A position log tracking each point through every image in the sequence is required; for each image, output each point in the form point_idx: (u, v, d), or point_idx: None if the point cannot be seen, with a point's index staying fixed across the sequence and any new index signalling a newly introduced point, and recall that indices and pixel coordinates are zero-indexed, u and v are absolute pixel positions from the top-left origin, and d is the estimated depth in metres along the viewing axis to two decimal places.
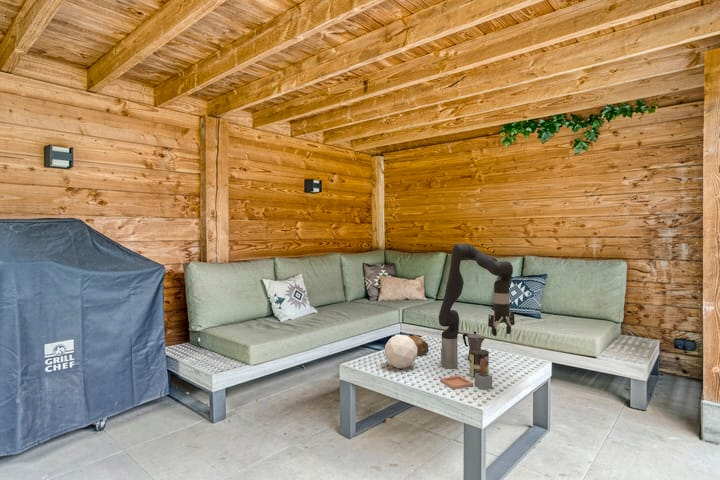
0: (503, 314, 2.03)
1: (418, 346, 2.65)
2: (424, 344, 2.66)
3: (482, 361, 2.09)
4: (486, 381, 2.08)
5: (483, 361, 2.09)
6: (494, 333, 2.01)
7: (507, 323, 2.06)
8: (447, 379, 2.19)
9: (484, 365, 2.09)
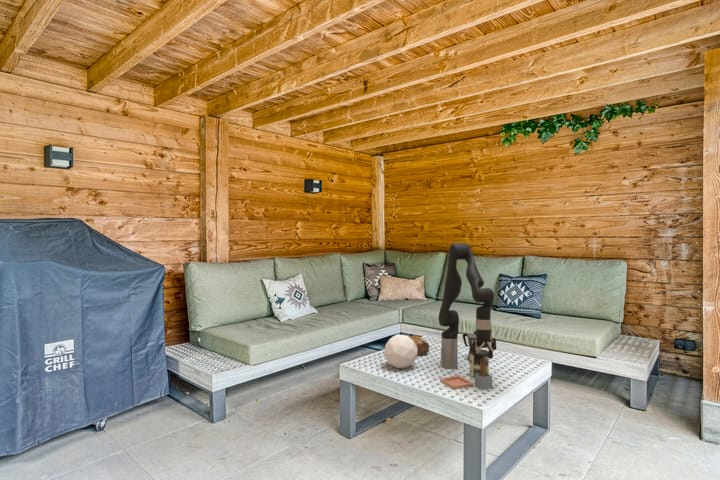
0: (485, 339, 2.09)
1: (419, 346, 2.65)
2: (425, 344, 2.66)
3: (482, 361, 2.09)
4: (486, 381, 2.08)
5: (483, 361, 2.09)
6: (476, 358, 2.08)
7: None
8: (447, 379, 2.19)
9: (484, 365, 2.09)
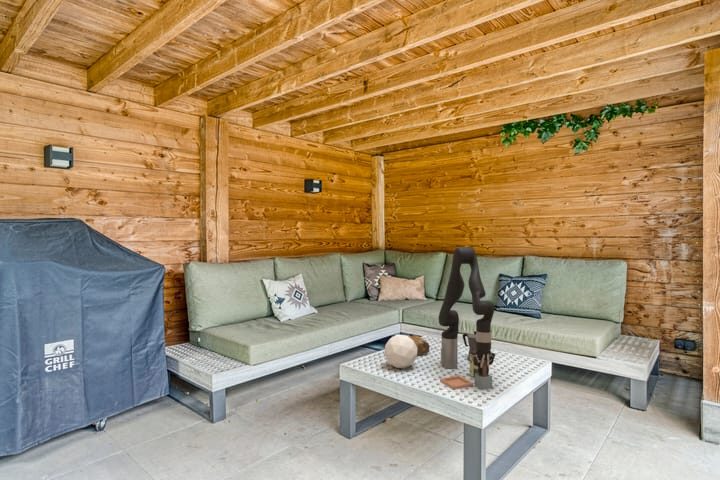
0: (485, 352, 2.10)
1: (419, 346, 2.65)
2: (425, 344, 2.66)
3: None
4: (486, 381, 2.08)
5: None
6: (480, 372, 2.09)
7: None
8: (447, 379, 2.19)
9: (484, 365, 2.09)
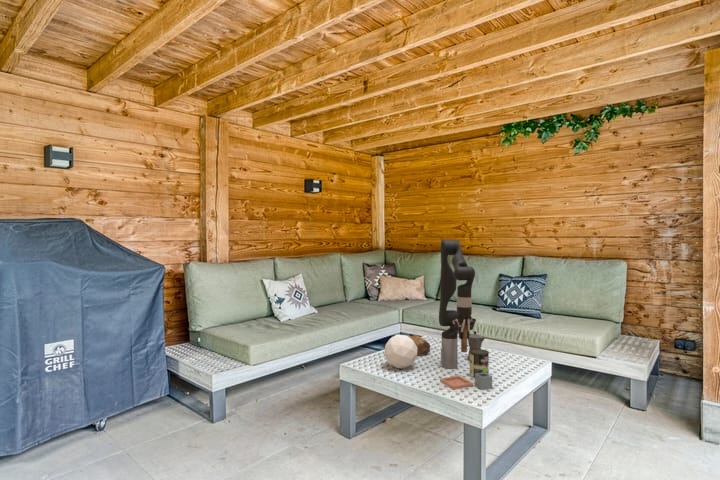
0: (465, 317, 2.13)
1: (420, 346, 2.65)
2: (426, 344, 2.66)
3: None
4: (486, 381, 2.08)
5: (464, 326, 2.12)
6: (461, 337, 2.12)
7: None
8: (447, 379, 2.19)
9: (465, 330, 2.12)
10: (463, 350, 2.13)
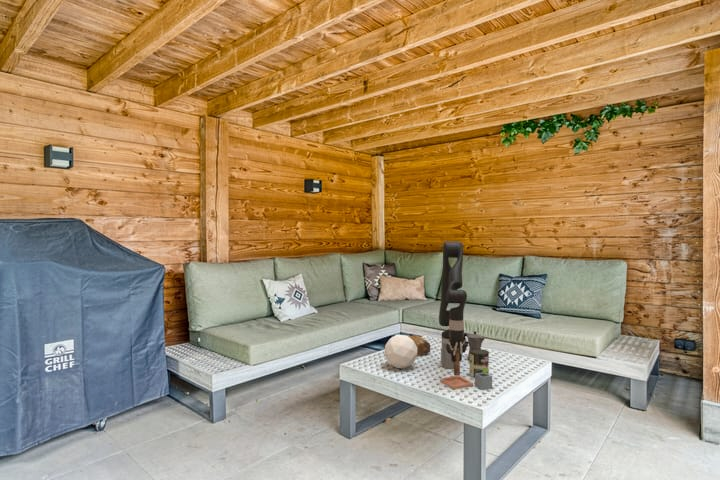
0: (458, 340, 2.14)
1: (420, 346, 2.65)
2: (426, 344, 2.67)
3: None
4: (486, 381, 2.08)
5: None
6: (453, 359, 2.13)
7: None
8: (447, 379, 2.19)
9: (457, 353, 2.14)
10: (456, 373, 2.14)
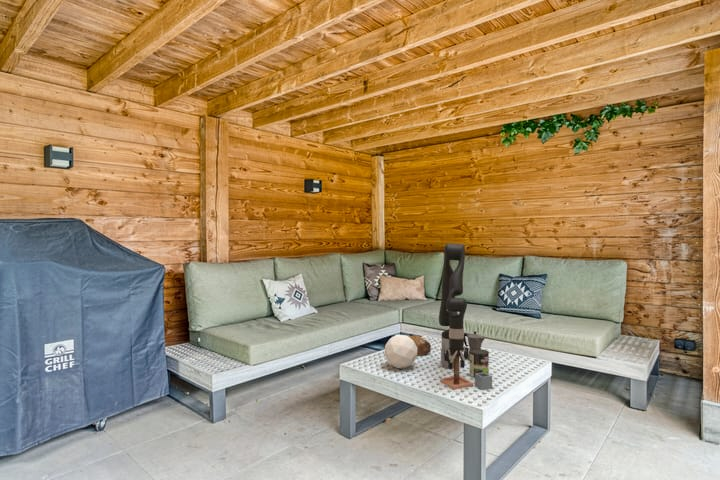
0: (458, 348, 2.14)
1: (421, 346, 2.65)
2: (427, 344, 2.67)
3: (455, 358, 2.14)
4: (486, 381, 2.08)
5: (456, 358, 2.14)
6: (450, 367, 2.13)
7: (461, 357, 2.17)
8: (447, 379, 2.19)
9: (457, 362, 2.14)
10: (455, 382, 2.14)
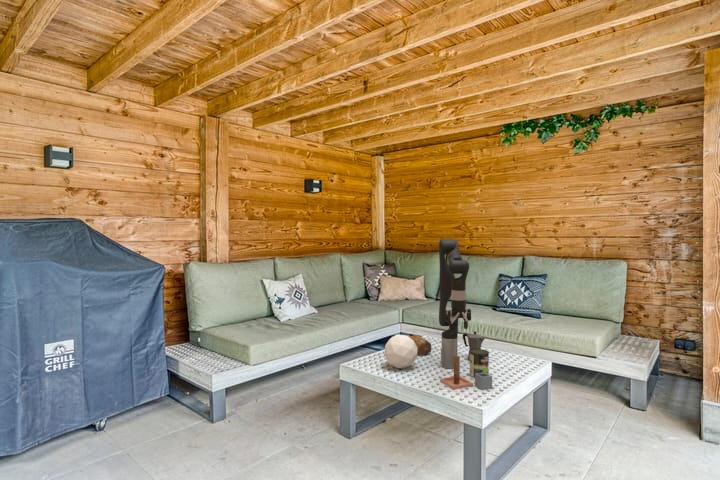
0: (460, 310, 2.15)
1: (422, 346, 2.66)
2: (427, 344, 2.67)
3: (455, 358, 2.14)
4: (486, 381, 2.08)
5: (456, 358, 2.14)
6: (451, 328, 2.13)
7: (464, 318, 2.18)
8: (447, 379, 2.19)
9: (457, 362, 2.14)
10: (455, 382, 2.14)
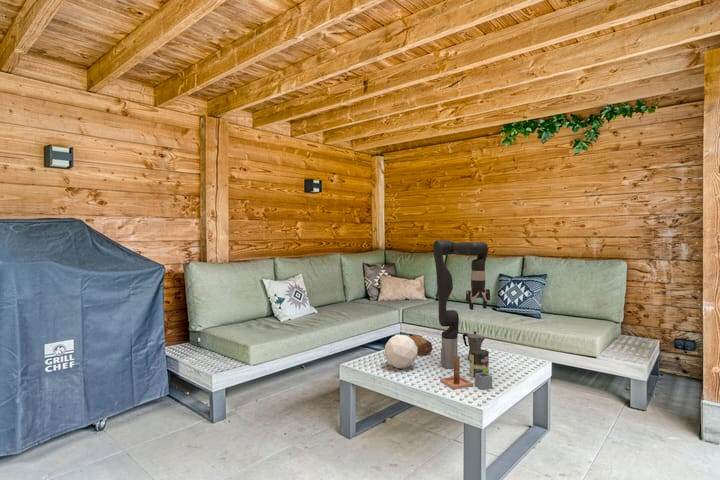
0: (479, 290, 2.22)
1: (423, 346, 2.66)
2: (428, 343, 2.67)
3: (455, 358, 2.14)
4: (486, 381, 2.08)
5: (456, 358, 2.14)
6: (471, 307, 2.21)
7: None
8: (447, 379, 2.19)
9: (457, 362, 2.14)
10: (455, 382, 2.14)
